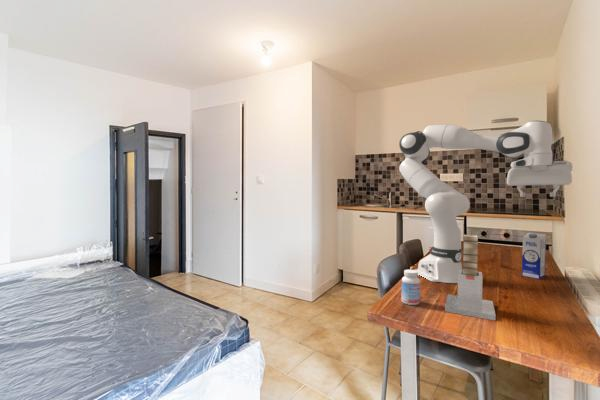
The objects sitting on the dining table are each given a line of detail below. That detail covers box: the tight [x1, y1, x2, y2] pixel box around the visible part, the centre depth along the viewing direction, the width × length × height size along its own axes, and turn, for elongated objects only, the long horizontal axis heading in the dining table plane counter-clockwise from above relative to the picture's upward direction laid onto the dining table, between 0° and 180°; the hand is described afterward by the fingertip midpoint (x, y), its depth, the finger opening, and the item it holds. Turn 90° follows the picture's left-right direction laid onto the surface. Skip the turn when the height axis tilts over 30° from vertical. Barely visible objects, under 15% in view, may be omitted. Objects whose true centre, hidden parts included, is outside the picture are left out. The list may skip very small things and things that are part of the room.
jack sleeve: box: [444, 269, 496, 321], centre depth 101 cm, size 14×14×12 cm
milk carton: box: [521, 232, 547, 280], centre depth 139 cm, size 7×7×20 cm
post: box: [462, 234, 479, 276], centre depth 101 cm, size 4×4×17 cm
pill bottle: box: [400, 269, 421, 306], centre depth 107 cm, size 6×6×11 cm
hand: (537, 196), depth 119 cm, fingers open, 8 cm apart
